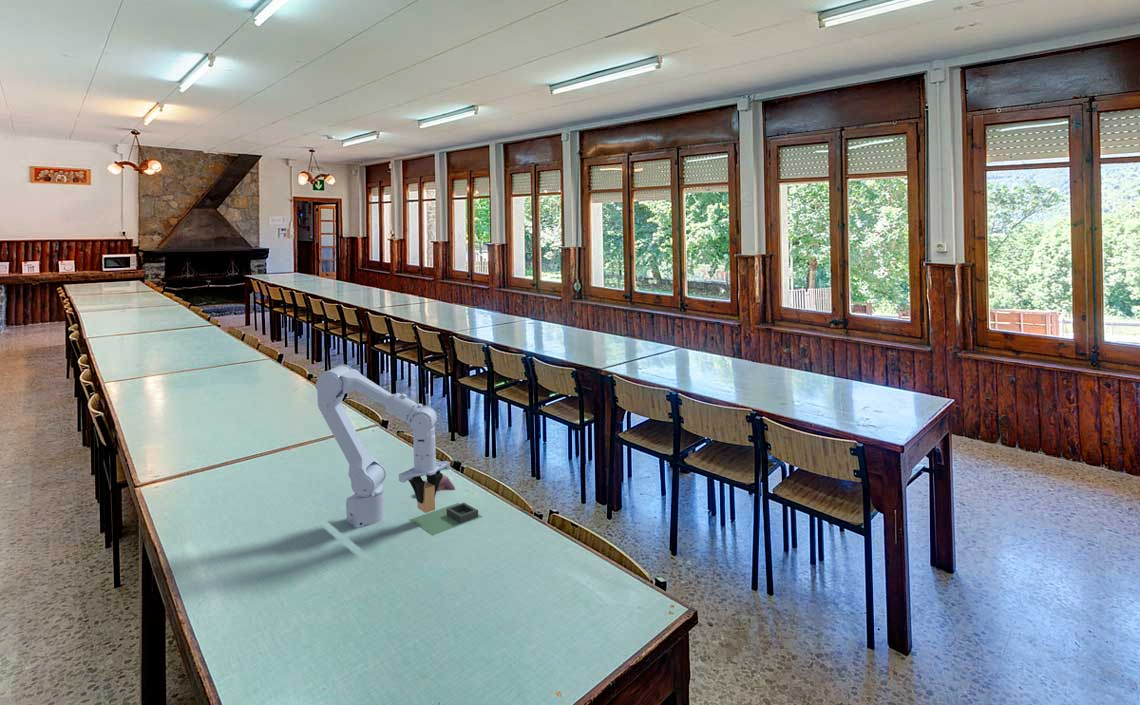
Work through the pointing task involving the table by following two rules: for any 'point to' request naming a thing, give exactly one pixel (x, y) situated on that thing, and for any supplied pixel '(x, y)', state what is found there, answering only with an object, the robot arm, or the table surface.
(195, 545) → the table surface
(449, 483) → the video game controller
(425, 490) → the plug
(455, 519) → the board
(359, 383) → the robot arm
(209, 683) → the table surface
